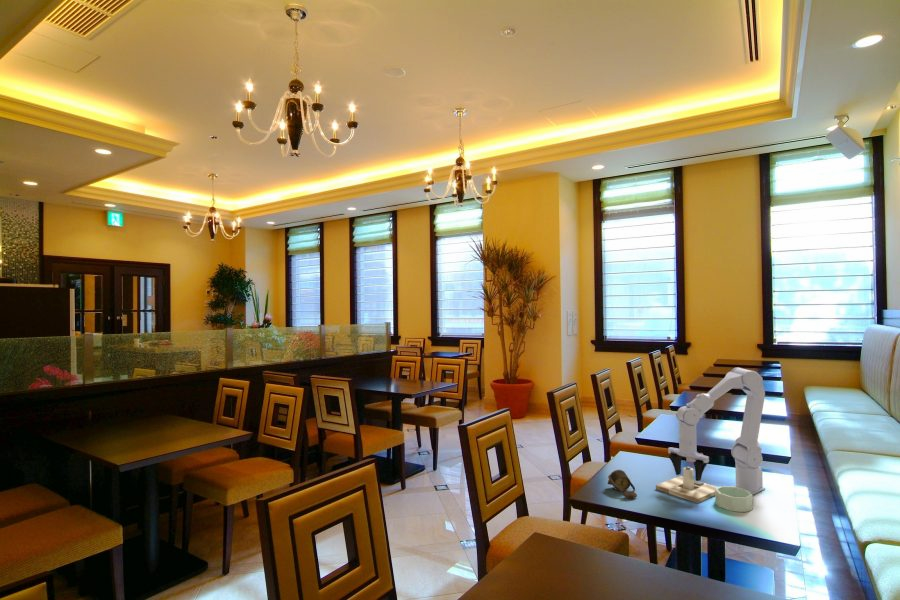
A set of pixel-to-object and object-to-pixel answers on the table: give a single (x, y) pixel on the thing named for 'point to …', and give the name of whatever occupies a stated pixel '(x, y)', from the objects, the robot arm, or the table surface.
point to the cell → (688, 478)
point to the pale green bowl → (733, 499)
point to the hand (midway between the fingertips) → (688, 477)
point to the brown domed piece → (622, 483)
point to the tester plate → (696, 495)
